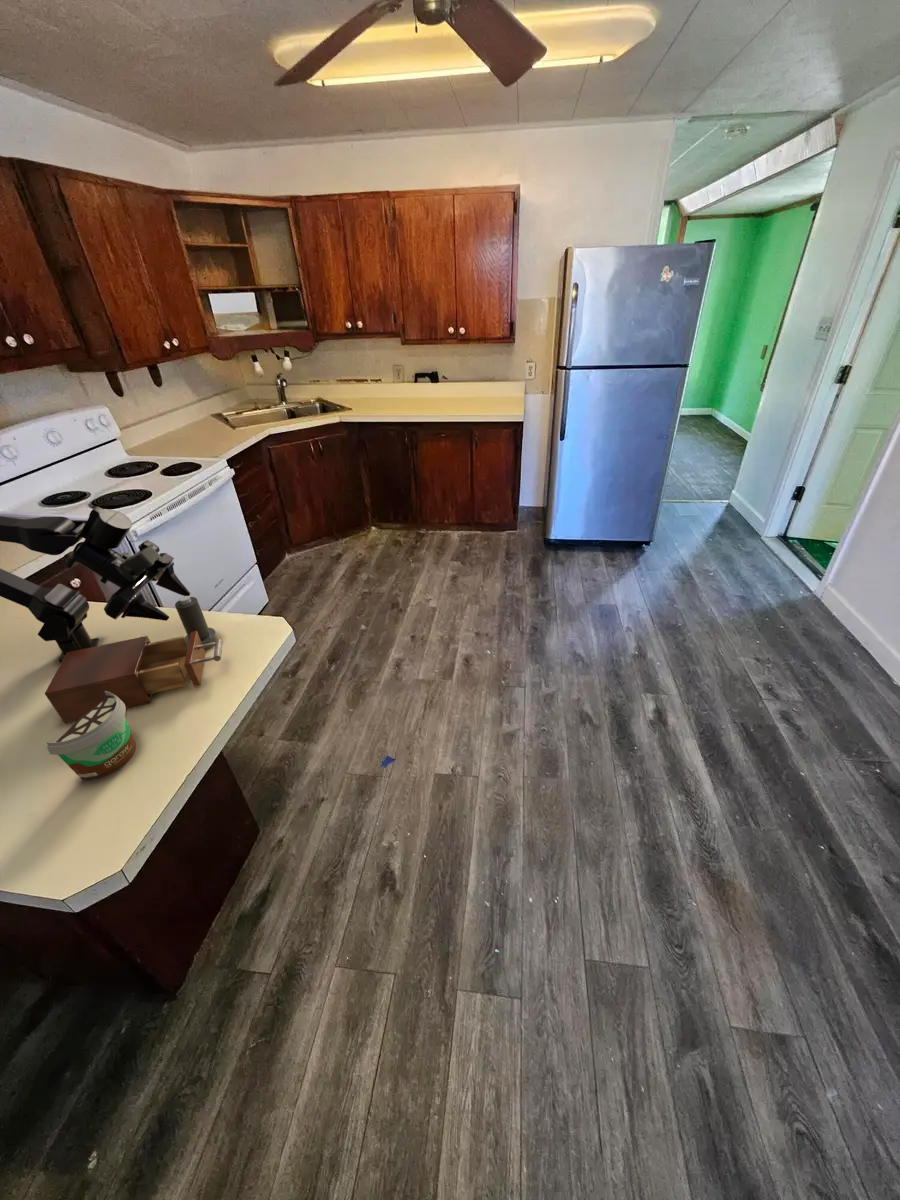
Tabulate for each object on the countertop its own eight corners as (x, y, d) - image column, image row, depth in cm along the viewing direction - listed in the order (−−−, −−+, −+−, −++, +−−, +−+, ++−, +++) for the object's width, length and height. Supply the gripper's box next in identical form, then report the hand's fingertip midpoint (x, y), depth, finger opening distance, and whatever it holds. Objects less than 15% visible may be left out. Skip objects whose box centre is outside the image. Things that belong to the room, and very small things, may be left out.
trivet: (188, 638, 111) (185, 631, 110) (219, 631, 113) (216, 624, 112) (185, 654, 106) (181, 647, 105) (217, 647, 108) (214, 640, 107)
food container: (106, 792, 77) (77, 750, 71) (74, 787, 78) (43, 745, 72) (160, 733, 87) (138, 692, 81) (130, 729, 88) (107, 688, 83)
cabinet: (161, 663, 104) (147, 635, 100) (150, 703, 94) (134, 673, 90) (84, 680, 100) (66, 652, 96) (64, 723, 90) (44, 693, 86)
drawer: (228, 647, 106) (220, 625, 103) (225, 679, 97) (216, 657, 94) (137, 667, 102) (125, 645, 99) (125, 703, 93) (112, 680, 89)
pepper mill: (190, 632, 110) (174, 595, 104) (210, 628, 111) (196, 591, 105) (187, 643, 106) (171, 605, 101) (209, 639, 107) (194, 601, 102)
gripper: (92, 559, 88) (173, 608, 93) (148, 518, 103) (215, 562, 109) (71, 597, 92) (149, 641, 98) (128, 552, 108) (193, 592, 113)
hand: (179, 606), depth 104 cm, fingers open, 9 cm apart
